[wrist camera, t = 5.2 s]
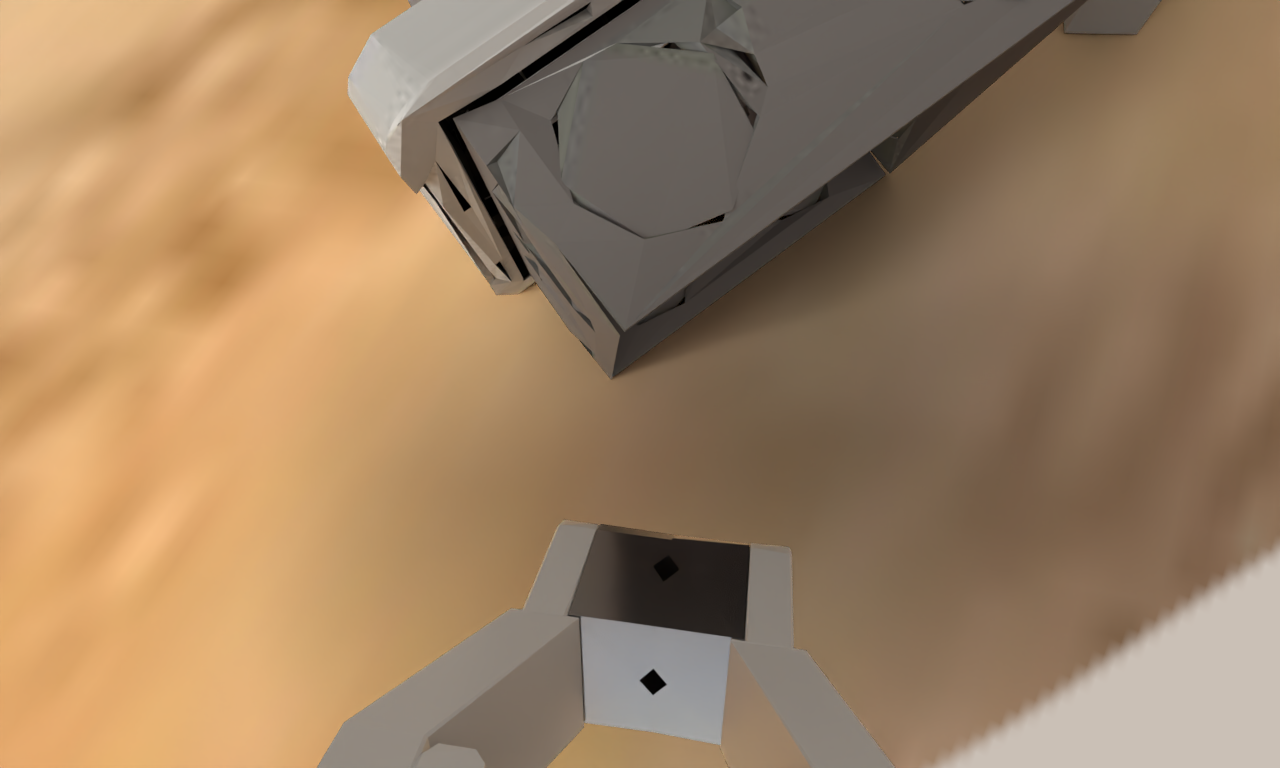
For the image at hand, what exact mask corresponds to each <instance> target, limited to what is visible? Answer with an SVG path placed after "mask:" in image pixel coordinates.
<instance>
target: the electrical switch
mask: <svg viewBox="0 0 1280 768" xmlns="http://www.w3.org/2000/svg"><path fill="white" fill-rule="evenodd" d="M963 1H964V2H965V3H964V2H963ZM1086 1H1088V0H421V1H420V2H418V3H417V4H415V5H414V6H412V7H411V8H409V9H408V10H406V11H405V12H403V13H402V14H400V15H399V16H397V17H396V18H394V19H393V20H391V21H390V22H388V23H387V24H386V25H384V26H383V27H381V28H380V29H378V30H377V31H375V32H374V33H372V34H371V35H370V37H369V39H368V41H367V43H366V45H365V47H364V48H363V50H362V52H361V54H360V56H359V58H358V60H357V62H356V64H355V65H354V67H353V69H352V71H351V73H350V75H349V77H348V96H349V98H350V99H351V101H352V102H353V104H354V105H355V107H356V109H357V110H358V112H359V113H360V115H361V116H362V118H363V120H364V121H365V123H366V124H367V126H368V127H369V129H370V130H371V132H372V134H373V135H374V137H375V138H376V140H377V141H378V143H379V145H380V146H381V148H382V149H383V151H384V152H385V154H386V156H387V157H388V159H389V160H390V162H391V163H392V165H393V166H394V168H395V169H396V171H397V172H398V174H399V175H400V177H401V178H402V179H403V180H404V181H405V182H406V183H407V184H408V186H409V187H410V188H411V189H412V190H413V191H414V192H415V193H416V194H417V193H418V191H419V190H420V192H421V193H422V194H423V196H424V197H425V198H426V200H427V201H428V202H429V204H430V205H431V206H432V208H433V209H434V210H435V212H436V213H437V214H438V216H439V217H440V218H441V220H442V221H443V222H444V224H445V225H446V226H447V228H448V229H449V230H450V232H451V233H452V234H453V236H454V237H455V238H456V240H457V241H458V242H459V244H460V245H461V246H462V248H463V249H464V250H465V252H466V253H467V254H468V256H469V257H470V258H471V259H472V261H473V262H474V264H475V265H476V267H477V268H478V269H479V270H480V272H481V273H482V274H483V276H484V277H485V278H486V280H487V281H488V282H489V284H490V286H491V287H492V289H493V290H494V292H495V294H496V295H514V294H519V293H520V292H522V291H523V290H525V289H526V288H527V287H529V286H530V285H532V284H533V283H534V282H536V283H537V285H538V286H539V288H540V289H541V291H542V292H543V293H544V295H545V296H546V298H547V299H548V300H549V302H550V303H551V305H552V306H553V308H554V309H555V310H556V312H557V313H558V315H559V316H560V317H561V319H562V320H563V322H564V323H565V325H566V326H567V328H568V329H569V330H570V332H571V333H572V334H574V335H575V336H576V337H577V338H578V339H579V340H580V342H581V343H582V344H583V345H584V347H585V348H586V349H587V351H588V352H589V353H590V354H591V356H592V357H593V358H594V359H595V361H596V362H597V363H598V364H599V365H600V367H601V368H602V369H603V370H604V371H605V373H606V374H607V375H608V376H609V378H610V379H612V377H613V376H615V375H617V374H618V373H620V372H621V371H622V370H624V369H625V368H626V367H628V366H629V365H630V364H632V363H633V362H634V361H636V360H637V359H638V358H640V357H641V356H642V355H644V354H645V353H646V352H648V351H649V350H651V349H652V348H653V347H655V346H656V345H657V344H659V343H660V342H661V341H663V340H664V339H665V338H667V337H668V336H669V335H671V334H672V333H673V332H675V331H676V330H678V329H679V328H680V327H682V326H683V325H684V324H686V323H687V322H688V321H690V320H691V319H692V318H694V317H695V316H696V315H698V314H699V313H700V312H702V311H703V310H704V309H706V308H707V307H709V306H710V305H711V304H713V303H714V302H715V301H717V300H718V299H719V298H721V297H722V296H723V295H725V294H726V293H727V292H729V291H730V290H731V289H733V288H734V287H735V286H737V285H738V284H740V283H741V282H742V281H744V280H745V279H746V278H748V277H749V276H750V275H752V274H753V273H754V272H756V271H757V270H758V269H760V268H761V267H762V266H764V265H765V264H766V263H768V262H769V261H771V260H772V259H773V258H775V257H776V256H777V255H779V254H780V253H781V252H783V251H784V250H785V249H787V248H788V247H789V246H791V245H792V244H793V243H795V242H796V241H798V240H799V239H800V238H802V237H803V236H804V235H806V234H807V233H808V232H810V231H811V230H812V229H814V228H815V227H816V226H818V225H819V224H820V223H822V222H823V221H824V220H826V219H827V218H829V217H830V216H831V215H833V214H834V213H835V212H837V211H838V210H839V209H841V208H842V207H843V206H845V205H846V204H847V203H849V202H850V201H851V200H853V199H854V198H855V197H857V196H858V195H860V194H861V193H862V192H864V191H865V190H866V189H868V188H869V187H870V186H872V185H873V184H874V183H876V182H877V181H878V180H880V179H881V178H882V177H883V176H884V175H885V173H884V172H883V170H882V169H881V167H880V166H879V165H878V163H877V162H876V160H875V159H874V158H873V156H872V155H871V153H870V151H872V153H873V154H874V155H875V156H876V157H877V159H878V160H879V161H880V162H881V163H882V165H883V166H884V167H885V168H886V170H887V171H888V172H889V173H891V172H892V171H893V170H894V169H895V168H897V167H898V166H899V165H900V164H901V163H902V162H903V161H905V160H906V159H907V158H908V157H909V156H910V155H911V154H913V153H914V152H915V151H916V150H917V149H918V148H919V147H921V146H922V145H923V144H924V143H925V142H926V141H927V140H929V139H930V138H931V137H932V136H933V135H934V134H935V133H937V132H938V131H939V130H940V129H941V128H942V127H943V126H945V125H946V124H947V123H948V122H949V121H950V120H951V119H953V118H954V117H955V116H956V115H957V114H958V113H959V112H961V111H962V110H963V109H964V108H965V107H966V106H967V105H969V104H970V103H971V102H972V101H973V100H974V99H975V98H977V97H978V96H979V95H980V94H981V93H982V92H983V91H985V90H986V89H987V88H988V87H989V86H990V85H991V84H993V83H994V82H995V81H996V80H997V79H998V78H999V77H1001V76H1002V75H1003V74H1004V73H1005V72H1006V71H1007V70H1009V69H1010V68H1011V67H1012V66H1013V65H1014V64H1015V63H1017V62H1018V61H1019V60H1020V59H1021V58H1022V57H1024V56H1025V55H1026V54H1027V53H1028V52H1029V51H1030V50H1032V49H1033V48H1034V47H1035V46H1036V45H1037V44H1038V43H1040V42H1041V41H1042V40H1043V39H1044V38H1045V37H1046V36H1048V35H1049V34H1050V33H1051V32H1052V31H1053V30H1054V29H1056V28H1057V27H1058V26H1059V25H1060V24H1061V23H1062V22H1064V21H1065V20H1066V19H1067V18H1068V17H1069V16H1070V15H1072V14H1073V13H1074V12H1075V11H1076V10H1077V9H1078V8H1080V7H1081V6H1082V5H1083V4H1084V3H1085V2H1086ZM897 137H898V138H897ZM819 196H820V200H819V202H818V203H817V201H818V198H819ZM722 214H725V217H724V219H723V221H722V222H717V223H711V224H706V225H701V226H696V227H693V226H695V225H698V224H700V223H702V222H705V221H707V220H710V219H712V218H714V217H717V216H719V215H722ZM792 214H793V215H792ZM786 215H791V216H789V217H787V218H785V219H783V220H779V218H780V217H782V216H786ZM684 297H685V300H684V304H682V305H680V306H678V307H676V306H677V305H678V304H679V303H680V301H681V300H682V299H683V298H684ZM675 307H676V308H675Z"/></svg>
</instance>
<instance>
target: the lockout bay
mask: <svg viewBox="0 0 1280 768" xmlns="http://www.w3.org/2000/svg"><path fill="white" fill-rule="evenodd" d="M408 1H409V3H410V5H411V7H412V6H414V5H415V4H417V3H418V2H420V1H421V0H408ZM1160 2H1161V0H1088V1H1086V2H1085V3H1084V4H1083V5H1082V6H1081V7H1080V8H1078V9H1077V10H1076V11H1075V12H1074V13H1073V14H1072V15H1070V16H1069V17H1068V18H1067V19H1066V20H1065V21H1064V33H1088V34H1137V33H1138V32H1139V30H1140V29H1141V27H1142V26H1143V25H1144V23H1145V22H1146V21H1147V19H1148V18H1149V17H1150V15H1151V14H1152V12H1153V11H1154V10H1155V8H1156V7H1157V6H1158V4H1159V3H1160Z"/></svg>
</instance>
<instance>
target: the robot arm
mask: <svg viewBox="0 0 1280 768" xmlns="http://www.w3.org/2000/svg"><path fill="white" fill-rule="evenodd" d="M584 723H590V724H597V725H604V726H612V727H619V728H627V729H634V730H641V731H649V732H655V733H660V734H665V735H670V736H675V737H681V738H686V739H691V740H696V741H701V742H707V743H712V744H717V745H720V749H721V752H722V754H723V756H724V758H725V760H726V762H727V765H728V767H729V768H895V767H894V765H893V764H892V763H891V761H890V760H889V759H888V757H887V756H886V755H885V753H884V752H883V751H882V749H881V748H880V747H879V745H878V744H877V743H876V741H875V740H874V739H873V738H872V736H871V735H870V734H869V732H868V731H867V730H866V728H865V727H864V726H863V724H862V723H861V722H860V720H859V719H858V718H857V716H856V715H855V714H854V712H853V711H852V710H851V708H850V707H849V706H848V705H847V703H846V702H845V701H844V699H843V698H842V697H841V695H840V694H839V693H838V691H837V690H836V689H835V687H834V686H833V685H832V683H831V682H830V681H829V679H828V678H827V677H826V675H825V674H824V673H823V672H822V670H821V669H820V668H819V666H818V665H817V664H816V662H815V661H814V660H813V658H812V657H811V656H810V654H809V653H808V652H807V650H802V649H795V648H794V630H793V581H792V552H791V550H790V548H789V547H786V546H776V545H767V544H757V543H751V544H750V547H749V543H741V542H733V541H724V540H715V539H706V538H698V537H689V536H680V535H672V534H665V533H658V532H652V531H645V530H638V529H631V528H624V527H617V526H610V525H604V524H601V525H598V524H592V523H585V522H578V521H571V520H563V521H562V522H561V523H560V524H559V525H558V526H557V528H556V530H555V533H554V535H553V538H552V540H551V542H550V545H549V547H548V549H547V552H546V554H545V557H544V559H543V561H542V564H541V566H540V568H539V571H538V573H537V576H536V578H535V580H534V583H533V585H532V588H531V590H530V592H529V595H528V597H527V599H526V602H525V604H524V607H523V609H514V608H510V609H509V610H508V611H506V612H505V613H503V614H502V615H500V616H499V617H497V618H496V619H494V620H493V621H492V622H490V623H489V624H487V625H486V626H484V627H483V628H481V629H480V630H478V631H477V632H475V633H474V634H473V635H471V636H470V637H468V638H467V639H465V640H464V641H462V642H461V643H459V644H458V645H456V646H455V647H454V648H452V649H451V650H449V651H448V652H446V653H445V654H443V655H442V656H440V657H439V658H437V659H436V660H435V661H433V662H432V663H430V664H429V665H427V666H426V667H424V668H423V669H421V670H420V671H418V672H417V673H416V674H414V675H413V676H411V677H410V678H408V679H407V680H405V681H404V682H402V683H401V684H399V685H398V686H397V687H395V688H394V689H392V690H391V691H389V692H388V693H386V694H385V695H383V696H382V697H381V698H379V699H378V700H376V701H375V702H373V703H372V704H370V705H369V706H367V707H366V708H364V709H363V710H362V711H360V712H359V713H357V714H356V715H354V716H353V717H351V718H350V719H348V720H347V721H345V722H344V723H343V725H342V727H341V728H340V730H339V732H338V733H337V735H336V737H335V738H334V740H333V742H332V743H331V745H330V747H329V748H328V750H327V752H326V753H325V755H324V757H323V758H322V760H321V762H320V763H319V765H318V767H317V768H546V767H547V766H548V765H549V764H550V763H551V762H552V761H553V760H554V759H555V758H556V757H557V756H558V754H559V753H560V752H561V751H562V750H563V749H564V748H565V747H566V746H567V745H568V744H569V743H570V742H571V741H572V740H573V738H574V737H575V736H576V735H577V734H578V733H579V732H580V731H581V730H582V729H583V728H584Z"/></svg>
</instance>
